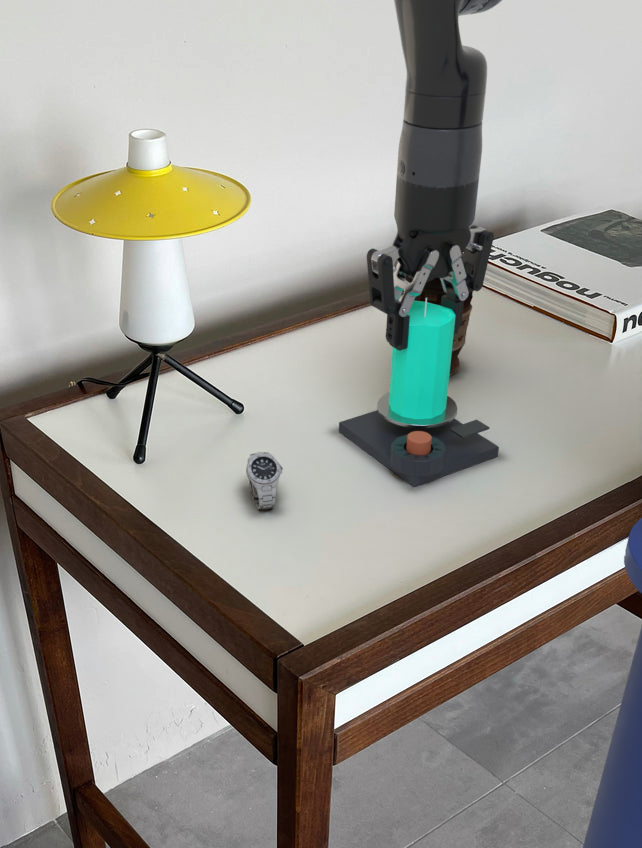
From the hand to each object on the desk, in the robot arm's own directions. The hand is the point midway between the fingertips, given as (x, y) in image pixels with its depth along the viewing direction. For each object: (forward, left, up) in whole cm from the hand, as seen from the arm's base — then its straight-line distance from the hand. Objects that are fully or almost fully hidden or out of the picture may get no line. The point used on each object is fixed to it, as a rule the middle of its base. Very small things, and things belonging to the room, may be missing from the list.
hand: (423, 339), depth 102 cm
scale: (-2, +1, -11) cm, 11 cm away
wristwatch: (-2, +20, -11) cm, 23 cm away
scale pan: (-1, 0, -8) cm, 8 cm away
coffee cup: (+11, -12, -11) cm, 20 cm away
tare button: (-6, +5, -8) cm, 11 cm away
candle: (0, 0, -8) cm, 8 cm away
